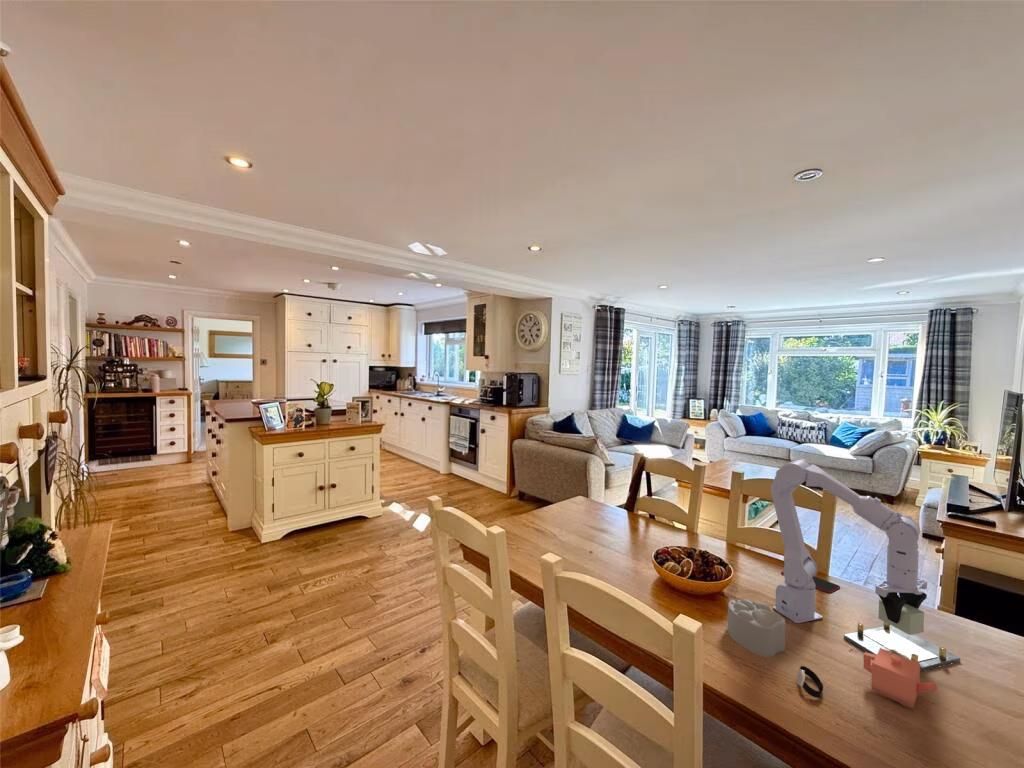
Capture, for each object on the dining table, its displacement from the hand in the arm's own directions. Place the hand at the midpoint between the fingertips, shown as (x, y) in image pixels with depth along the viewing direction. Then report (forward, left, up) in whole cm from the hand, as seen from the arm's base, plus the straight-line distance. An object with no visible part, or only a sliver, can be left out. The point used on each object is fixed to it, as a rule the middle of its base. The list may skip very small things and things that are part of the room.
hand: (900, 619), depth 106 cm
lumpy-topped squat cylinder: (-32, +13, -8) cm, 35 cm away
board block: (0, 0, -1) cm, 1 cm away
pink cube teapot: (-17, -11, -8) cm, 22 cm away
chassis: (0, 0, -8) cm, 8 cm away
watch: (-33, -4, -8) cm, 34 cm away
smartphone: (+10, +33, -8) cm, 35 cm away
